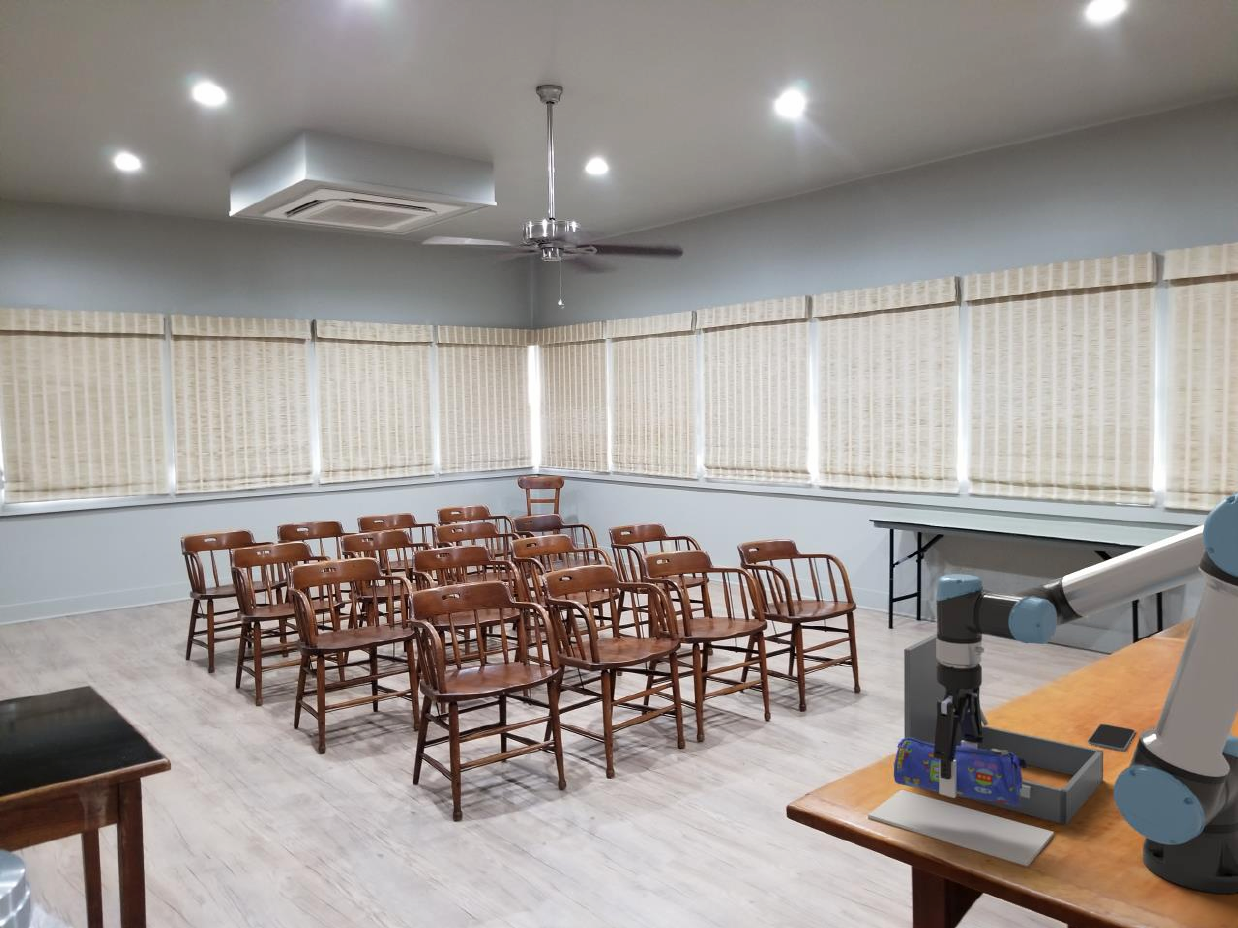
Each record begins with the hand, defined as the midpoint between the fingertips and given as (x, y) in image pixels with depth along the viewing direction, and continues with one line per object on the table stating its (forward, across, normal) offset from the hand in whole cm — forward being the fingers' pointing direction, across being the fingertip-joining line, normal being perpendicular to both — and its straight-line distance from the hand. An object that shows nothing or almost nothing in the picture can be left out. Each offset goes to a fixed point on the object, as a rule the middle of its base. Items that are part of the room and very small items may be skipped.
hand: (958, 785), depth 161 cm
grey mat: (+7, 0, 0) cm, 7 cm away
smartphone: (+8, +64, -10) cm, 65 cm away
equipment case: (+7, +25, 0) cm, 26 cm away
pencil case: (+2, 0, 0) cm, 2 cm away
